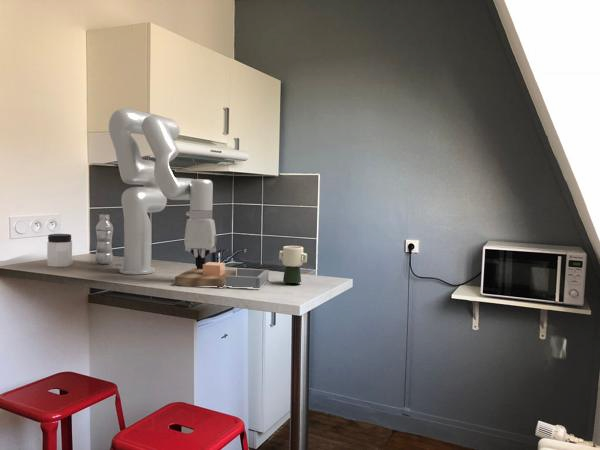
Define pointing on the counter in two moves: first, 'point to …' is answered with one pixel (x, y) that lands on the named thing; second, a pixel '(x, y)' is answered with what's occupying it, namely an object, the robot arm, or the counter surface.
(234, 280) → the box
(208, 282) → the platform
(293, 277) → the character mug
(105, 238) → the plastic bottle
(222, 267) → the orange block
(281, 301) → the counter surface
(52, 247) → the jar
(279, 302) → the counter surface
